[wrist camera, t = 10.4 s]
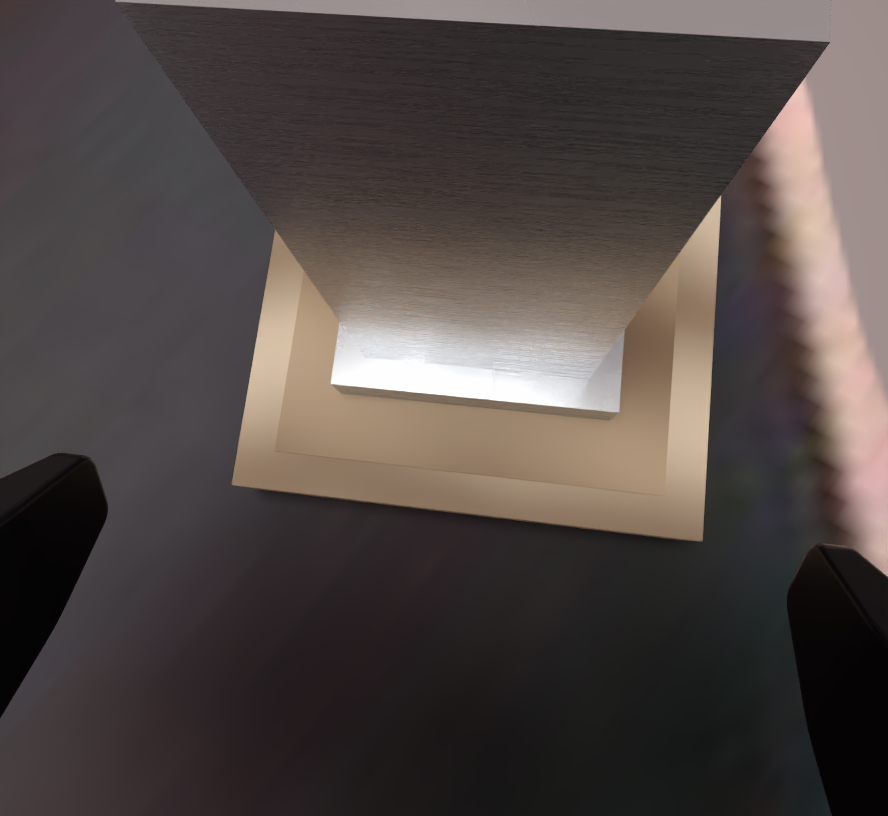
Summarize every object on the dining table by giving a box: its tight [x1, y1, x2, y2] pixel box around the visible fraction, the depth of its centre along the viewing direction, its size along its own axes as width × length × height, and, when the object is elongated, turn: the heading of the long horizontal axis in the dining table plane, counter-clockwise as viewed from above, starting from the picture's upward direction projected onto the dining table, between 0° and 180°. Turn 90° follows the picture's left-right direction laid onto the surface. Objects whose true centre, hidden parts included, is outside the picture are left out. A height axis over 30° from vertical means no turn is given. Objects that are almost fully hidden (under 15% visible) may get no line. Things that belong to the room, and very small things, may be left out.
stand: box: [232, 196, 721, 541], centre depth 19 cm, size 12×12×2 cm
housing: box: [115, 0, 831, 420], centre depth 11 cm, size 6×7×13 cm
